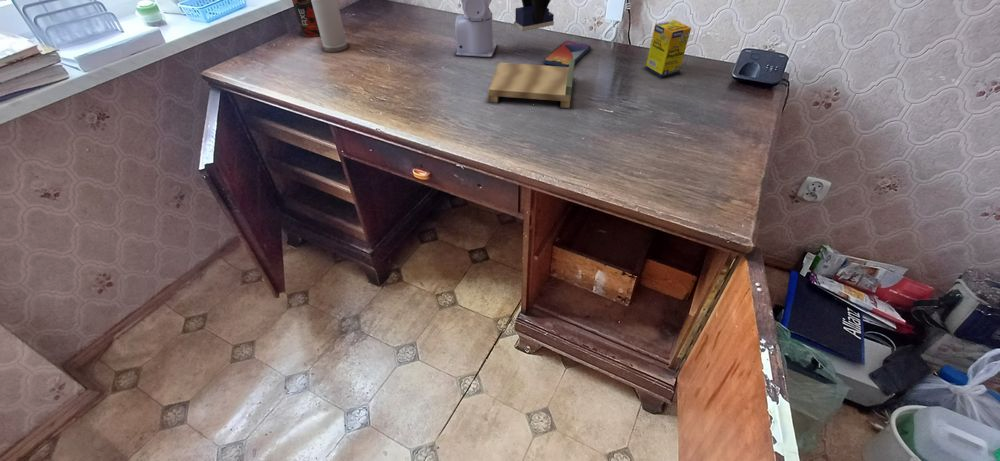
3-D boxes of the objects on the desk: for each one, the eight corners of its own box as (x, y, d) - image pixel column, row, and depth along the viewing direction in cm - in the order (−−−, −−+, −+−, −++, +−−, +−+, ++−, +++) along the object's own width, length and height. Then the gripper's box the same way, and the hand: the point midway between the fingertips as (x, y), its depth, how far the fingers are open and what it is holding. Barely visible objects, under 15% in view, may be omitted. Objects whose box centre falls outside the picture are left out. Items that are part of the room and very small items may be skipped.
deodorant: (301, 37, 132) (284, -21, 121) (302, 30, 136) (286, -27, 125) (322, 35, 133) (307, -22, 122) (323, 28, 137) (309, -29, 126)
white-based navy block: (521, 31, 116) (522, 13, 113) (513, 25, 119) (513, 8, 116) (553, 25, 119) (554, 7, 116) (544, 19, 121) (545, 2, 119)
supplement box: (661, 78, 112) (672, 32, 105) (644, 68, 116) (654, 23, 108) (679, 73, 114) (692, 27, 107) (663, 63, 118) (673, 19, 110)
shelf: (488, 101, 104) (488, 80, 101) (499, 74, 114) (498, 54, 111) (569, 108, 102) (571, 86, 99) (572, 79, 112) (575, 59, 109)
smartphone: (591, 49, 125) (591, 45, 124) (569, 69, 115) (569, 65, 115) (565, 44, 128) (566, 40, 127) (542, 63, 118) (542, 59, 117)
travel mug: (318, 50, 125) (295, -33, 111) (333, 41, 129) (313, -40, 116) (337, 54, 123) (317, -30, 109) (352, 45, 128) (334, -37, 114)
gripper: (567, -36, 105) (562, 26, 114) (536, -50, 114) (533, 8, 124) (540, -32, 103) (537, 31, 112) (510, -47, 112) (510, 12, 121)
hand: (533, 19), depth 118 cm, fingers closed on white-based navy block, 4 cm apart
